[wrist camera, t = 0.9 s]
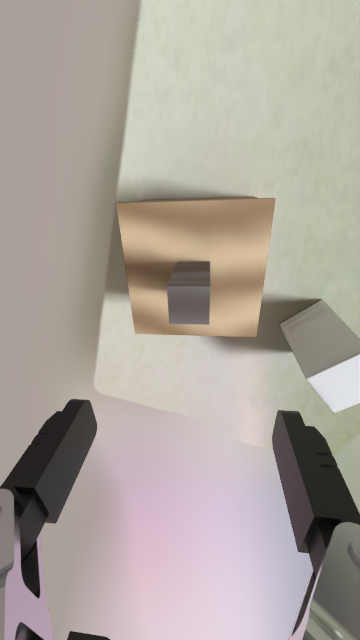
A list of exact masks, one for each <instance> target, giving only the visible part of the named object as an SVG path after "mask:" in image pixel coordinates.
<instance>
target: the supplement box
mask: <svg viewBox="0 0 360 640" xmlns="http://www.w3.org/2000/svg"><path fill="white" fill-rule="evenodd" d="M280 327H281V329H282V331H283V333H284V335H285V337H286V339H287V341H288V344H289V346H290V348H291V350H292V352H293V353H294V356H295V358H296V360H297V362H298V364H299V366H300V368H301V370H302V372H303V374H304V376H305V378H306V380H307V381H308V383H309V384H310V385H311V386H312V388H313V389H314V390H315V391H316V393H317V394H318V395H319V396H320V397H321V399H322V400H323V401H324V402H325V403H326V405H327V406H328V407H329V408H330V409H331V410H332V412H333V413H335V412H338V411H340V410H343V409H346V408H348V407H351V406H353V405H356V404H358V403H360V338H359V337H358V336H357V335H356V334H355V333H354V332H353V331H352V330H351V329H350V328H349V327H348V326H347V325H346V324H345V322H344V321H343V320H342V319H341V318H340V317H339V316H338V315H337V314H336V313H335V312H334V311H333V310H332V309H331V308H330V307H329V306H328V305H327V304H326V302H325V301H324V300H321V301H319V302H317V303H315V304H313V305H312V306H310V307H308V308H306V309H305V310H303V311H301V312H300V313H298V314H296V315H294V316H293V317H291V318H289V319H288V320H286V321H284V322H283V323H281V324H280Z"/></svg>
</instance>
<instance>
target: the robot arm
mask: <svg viewBox="0 0 360 640" xmlns="http://www.w3.org/2000/svg"><path fill="white" fill-rule="evenodd" d="M96 431H97V422H96V419H95V415H94V412H93V409H92V406H91V403H90V401H89V400H78V399H71V400H70V401H69V402H68V403H67V405H66V406H65V408H64V409H63V411H62V412H61V411H57V412H56V413H55V414H54V415H53V416H51V418H49V419H48V420H47V421H46V422H45V424H44V425H43V426H42V428H41V429H40V431H39V433H38V435H36V437H35V438H34V439H33V441H32V443H31V445H29V447H28V448H27V450H26V451H25V452H24V454H23V455H22V457H21V458H20V460H19V461H18V463H17V464H16V465H15V467H14V468H13V470H12V471H11V473H10V474H9V476H8V477H7V479H6V480H5V481H4V483H3V484H2V485H1V487H0V640H54V632H53V625H52V619H51V615H50V612H49V609H48V606H47V602H46V596H45V584H44V572H43V560H42V548H41V536H40V531H41V529H42V527H43V525H44V523H45V522H46V523H56V522H57V520H58V518H59V515H60V513H61V511H62V509H63V507H64V505H65V502H66V500H67V498H68V496H69V493H70V491H71V489H72V487H73V485H74V482H75V480H76V478H77V476H78V474H79V471H80V469H81V467H82V464H83V462H84V460H85V458H86V456H87V454H88V451H89V449H90V447H91V445H92V443H93V440H94V438H95V435H96ZM272 442H273V450H274V454H275V458H276V462H277V467H278V471H279V474H280V479H281V483H282V487H283V491H284V495H285V499H286V504H287V508H288V512H289V516H290V520H291V524H292V528H293V532H294V536H295V540H296V545H297V549H298V552H303V553H309V555H310V559H311V562H312V566H313V569H312V572H311V575H310V578H309V580H308V583H307V586H306V589H305V592H304V595H303V598H302V601H301V604H300V607H299V610H298V613H297V616H296V619H295V622H294V625H293V627H292V630H291V633H290V636H289V639H288V640H360V514H359V512H358V509H357V507H356V505H355V503H354V501H353V498H352V496H351V494H350V492H349V490H348V488H347V485H346V483H345V481H344V479H343V477H342V474H341V473H340V470H339V469H338V467H337V463H336V461H335V459H334V457H333V456H332V452H331V450H330V448H329V446H328V444H327V442H326V439H325V438H324V437H323V436H322V435H321V434H320V433H319V431H318V430H317V429H316V428H315V427H312V426H305V424H304V422H303V419H302V417H301V415H300V413H299V412H298V411H282V410H279V411H278V412H277V416H276V421H275V425H274V430H273V436H272ZM67 640H110V639H108V638H107V637H103V636H97V635H91V634H84V633H79V632H72V631H70V633H69V636H68V639H67Z"/></svg>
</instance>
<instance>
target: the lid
mask: <svg viewBox="0 0 360 640" xmlns="http://www.w3.org/2000/svg"><path fill="white" fill-rule="evenodd" d="M275 199H276V198H251V199H220V200H189V201H158V202H127V203H116V206H117V213H118V220H119V226H120V233H121V240H122V247H123V254H124V261H125V268H126V275H127V281H128V288H129V295H130V302H131V309H132V316H133V323H134V330H135V334H162V335H198V336H233V337H256V336H257V329H258V321H259V314H260V307H261V300H262V293H263V285H264V278H265V271H266V264H267V257H268V249H269V242H270V235H271V228H272V221H273V213H274V206H275Z"/></svg>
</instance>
